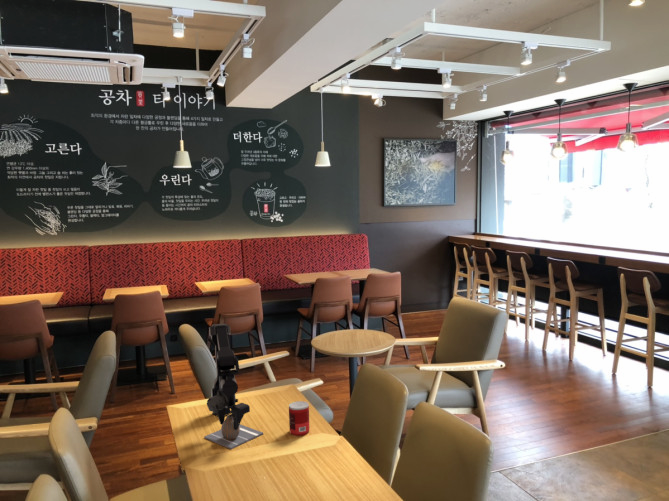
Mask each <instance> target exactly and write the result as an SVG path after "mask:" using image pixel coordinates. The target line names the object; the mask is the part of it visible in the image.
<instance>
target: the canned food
mask: <svg viewBox="0 0 669 501" xmlns="http://www.w3.org/2000/svg"><path fill="white" fill-rule="evenodd" d="M288 422H289V426H288V427H289V433H290V435H293V436H295V437H301V436H305V435H307V434H308V433H309V432H310V406H309V402H307V401H303V400H300V401H299V400H298V401H294V402H290V404H289V405H288Z"/></svg>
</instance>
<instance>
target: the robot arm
mask: <svg viewBox="0 0 669 501" xmlns="http://www.w3.org/2000/svg"><path fill="white" fill-rule="evenodd" d="M208 329H209V330H208V332H209V337H210V340H211V342H212V343H213V345H214V347H215V348H214V350H215V370H216V371H215V372H216V373H215V374H216V376H215V379H214V380H213V383H212V388H211V393H210V395H211V397H208V399H207V401H206V406H207V408H208V411H209V412H211V414H212V415H214V416H216V417H217V419H218V421H219V423H220V425H221V426H222V424H223V422H224V420H225V419H226V416H228V415H231V416H232V417H233V421H234V429H235V430H237V429H238V427H239V425H240V424H241V422H242V419H243V417H244V416H245V415H246V414H247V413H250V411H251V410H250V409H251V408H250V407H251V406H250V405H249V404H248V403H244V402H240V403H238V402H239V399H238V398H237V397H236V393H237V392H238V390H239V385H238V383H237V380H236V378H235V375H239V372H240V365H239V364H240V363H239V359H238V357H237V356H235V355H236V354H235V352H234V350H233V349H231V348H230V341H229V338H230V337H229V336H230V335H231V334H232V333H231V325H229V324H227V323H216V324H212V325H211V326H209V327H208ZM236 403H237V404H236Z"/></svg>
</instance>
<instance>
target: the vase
mask: <svg viewBox="0 0 669 501" xmlns="http://www.w3.org/2000/svg"><path fill="white" fill-rule="evenodd" d="M220 428H221V433H222V436H223V437H224V438H225V439H226V440H234V439H236V438H237V436H238V435H239V431H240V426H239V427H238V429H237V430H235V429H234V421H233V417H232V416H231V415H230V414H228V415H226V416H225V419H224V422H223V424H222V425H221V427H220Z"/></svg>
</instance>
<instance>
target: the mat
mask: <svg viewBox="0 0 669 501" xmlns="http://www.w3.org/2000/svg"><path fill="white" fill-rule="evenodd" d="M239 426H240V431H239V435H238V436H237V438H236V439H234V440H226V439H225V438H224V437H223V436H222V433H221V429H219V430H216V431H214V432H211V433H209V434H207V435H205V436H203V438H204V439H205V440H208V441H210V442H212V443H215V444H217V445H219V446H222V447H224V448H227V449H230V450H233V449H235V448H237V447H239V446H241V445H243V444H247V443H248V442H250V441H251V440H254V439H257V438H259V437H260V436H262V435H264V432H262V431H259V430H257V429H254V428H251V427H249V426H246V425H243V424H241V423H240V425H239Z"/></svg>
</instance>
